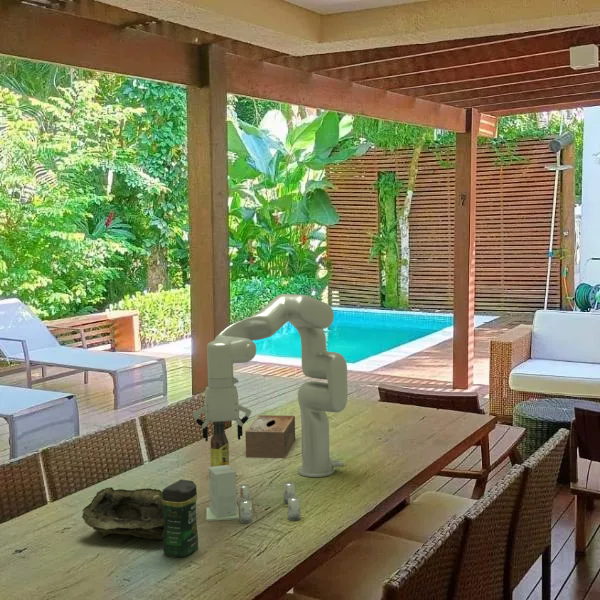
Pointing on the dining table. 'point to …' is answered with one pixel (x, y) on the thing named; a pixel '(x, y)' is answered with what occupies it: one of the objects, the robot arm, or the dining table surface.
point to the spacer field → (288, 499)
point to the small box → (222, 490)
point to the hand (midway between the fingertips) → (222, 439)
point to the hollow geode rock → (127, 513)
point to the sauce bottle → (219, 445)
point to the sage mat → (212, 517)
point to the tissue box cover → (270, 436)
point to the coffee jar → (180, 518)
